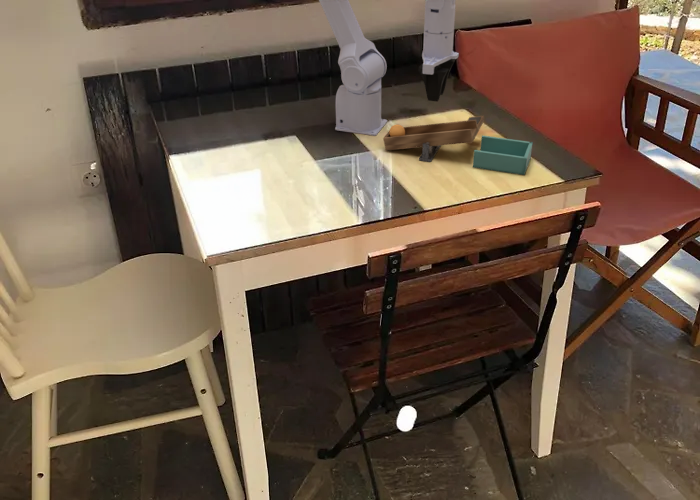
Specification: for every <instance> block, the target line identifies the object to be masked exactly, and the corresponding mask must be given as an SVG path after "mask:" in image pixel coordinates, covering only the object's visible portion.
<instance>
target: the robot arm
mask: <svg viewBox="0 0 700 500" xmlns="http://www.w3.org/2000/svg"><path fill="white" fill-rule="evenodd" d="M318 2H319V4H320V6H321V8H322V10H323V12H324V15H325V17H326V20H327V22H328V24H329V27H330V28H331V31H332V33H333V35H334V37H335V39H336V41H337V44H338V47H339V49H340V51H339V56H338V60H337V63H338V66H339V68H340V73H341V74H340V77H341V81H342V84H341V85H339V87H338V89H337V91H336V94H335V124H336V125H335V128H334V130H335V131H338V132H339V131H340V132H346V133H353V134H361V135H368V136H374V137H375V136H378V134H379V132H380V131H381V130H382V129H383V128H384V126H385V125H386V124H387V123H388V120H387V119H385V118H382V78H383V77H384V76H385V75H386V72H387V67H388V66H387V61H386V59H385V57H384V56H383V55H382V53H380V52H379V51H378V49H377V48H376V45H375V43H374V42H373V41H371V40H369V39H367V38H366V37H365V35H364V33H363V29H361V25H360V23H359V21H358V18H357V16H356V14H355V11H354V10H353V6H352V5H351V3H350V0H318ZM424 2H425V3H424V19H423V20H424V21H423V22H424V23H423V43H422V44H423V48H422V49H423V50H422V52H421V57H422V62H423V63H421V64H420V65H419V66H418V72H419V74H420V76H421V78H422V81H423V84H424V87H425V93H426V98H427V101H430V102H439V100H440V96H443V94H444V93H445V89H446V85H447V82H448V78H449V74H450V71H451V70H452V67H453V65H454V63H456V59H458V58H459V52H456V51H454V35H455V22H456V21H455V19H456V2H457V1H456V0H425V1H424Z"/></svg>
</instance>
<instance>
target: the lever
mask: <svg viewBox="0 0 700 500" xmlns="http://www.w3.org/2000/svg"><path fill="white" fill-rule="evenodd" d="M484 122H485V115H477V116H469V118H468V119H467V120H460V121H452V122H451V121H450V122H440V123H439V122H438V123H432V124H429V123H428V124H422V125H409V126H403V128H404V129H405V135H404V136H394V137H390V134H389V131H390V129H388V131H387V133H386V134H385V135H384V137H383V138H382V139H383V144H384V147H385V148H384V149H385V151H392V150H393V151H395V150H404V149H405V150H406V149H415V148H423V143H428V144H429V146H439V145H441V146H448V145H449V146H450V145H456V144H457V145H461V144H470V143H473V142H474V140H475V139H476V137H477V135H478V133H479V131H480V130H481V128H482V125H484V124H483V123H484Z"/></svg>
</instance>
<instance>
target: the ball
mask: <svg viewBox="0 0 700 500" xmlns="http://www.w3.org/2000/svg"><path fill="white" fill-rule="evenodd" d="M403 127H404V126H403V125H401V124H393V125H391V127H390V128H389V130H390V131H389V130H388V132H389V134H390V137H394V136H404V135H405V129H404V128H403Z"/></svg>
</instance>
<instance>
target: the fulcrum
mask: <svg viewBox="0 0 700 500" xmlns="http://www.w3.org/2000/svg"><path fill="white" fill-rule="evenodd" d="M441 147H442V145H439V146H429V144H428V143H423V147H422V153H420V156H419V157H418V161H421V162H424V163H425V162H427V163H431V162H432V161H433V159H434V158H435V156H436V154H437V153H438V152H439V150H440V148H441Z"/></svg>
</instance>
